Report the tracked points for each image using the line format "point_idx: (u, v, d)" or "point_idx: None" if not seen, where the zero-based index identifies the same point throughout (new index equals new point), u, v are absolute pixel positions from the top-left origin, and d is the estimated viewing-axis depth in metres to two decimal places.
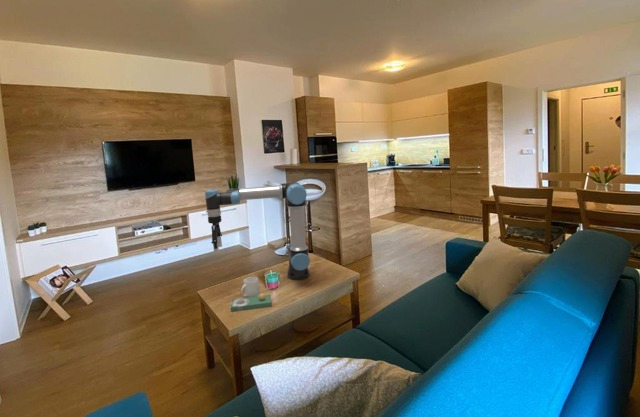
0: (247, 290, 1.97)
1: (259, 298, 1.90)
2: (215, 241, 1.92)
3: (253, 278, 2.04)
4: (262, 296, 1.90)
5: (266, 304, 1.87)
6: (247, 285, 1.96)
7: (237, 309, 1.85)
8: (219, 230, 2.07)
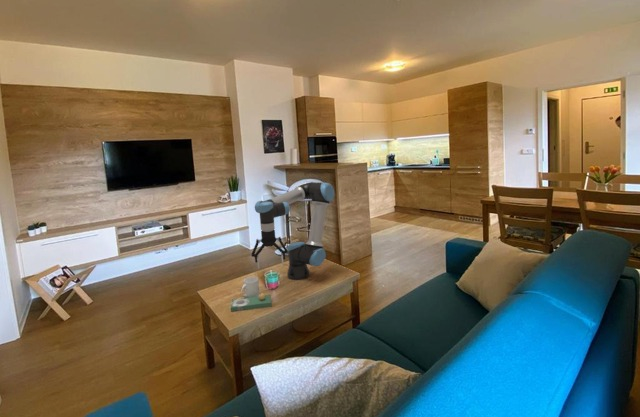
0: (247, 290, 1.97)
1: (259, 298, 1.90)
2: (251, 254, 1.86)
3: (253, 278, 2.04)
4: (262, 296, 1.90)
5: (266, 304, 1.87)
6: (247, 285, 1.96)
7: (237, 309, 1.85)
8: (279, 247, 1.88)
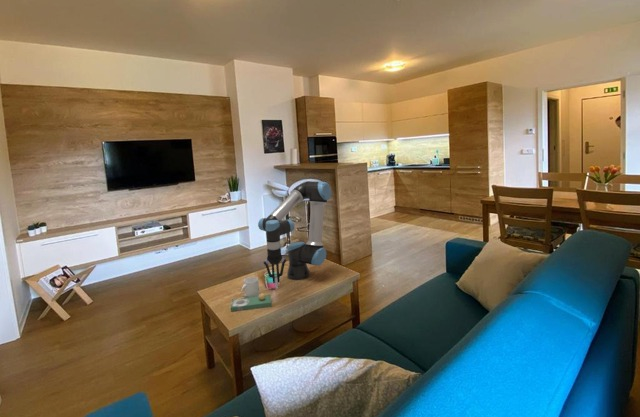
0: (247, 290, 1.97)
1: (259, 298, 1.90)
2: (269, 275, 1.89)
3: (253, 278, 2.04)
4: (262, 296, 1.90)
5: (266, 304, 1.87)
6: (247, 285, 1.96)
7: (237, 309, 1.85)
8: (278, 269, 1.89)
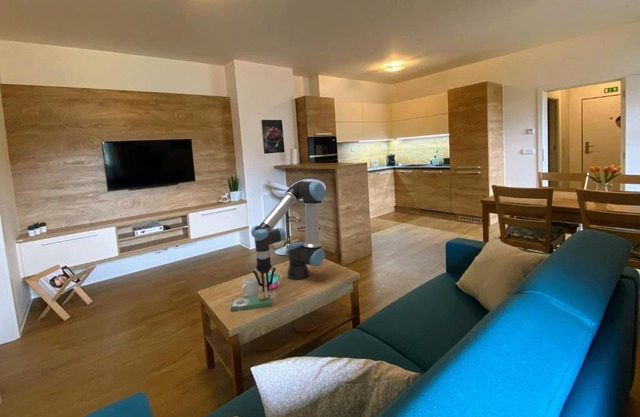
0: (247, 290, 1.97)
1: (259, 298, 1.90)
2: (259, 284, 1.89)
3: (253, 278, 2.04)
4: (262, 296, 1.90)
5: (266, 304, 1.87)
6: (247, 285, 1.96)
7: (237, 309, 1.85)
8: None
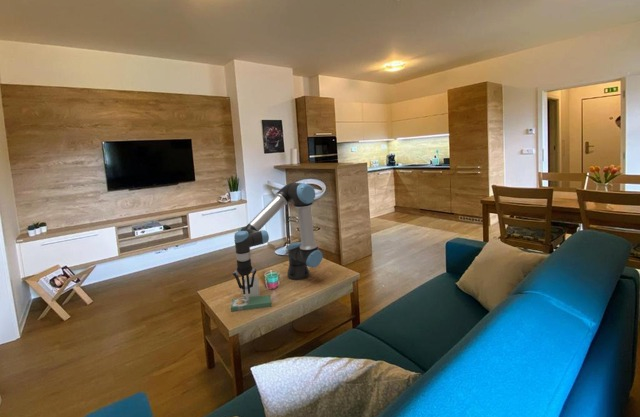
0: None
1: None
2: None
3: None
4: None
5: (266, 304, 1.87)
6: None
7: (237, 309, 1.85)
8: (248, 280, 1.87)
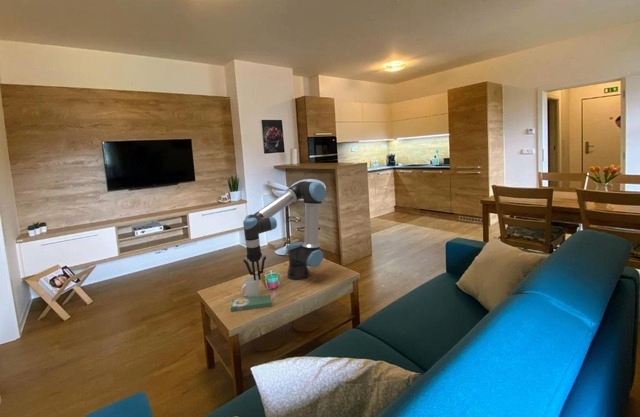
0: (247, 290, 1.97)
1: None
2: (250, 273, 1.89)
3: (253, 278, 2.04)
4: (240, 302, 1.88)
5: (266, 304, 1.87)
6: (247, 285, 1.96)
7: (237, 309, 1.85)
8: (258, 266, 1.88)
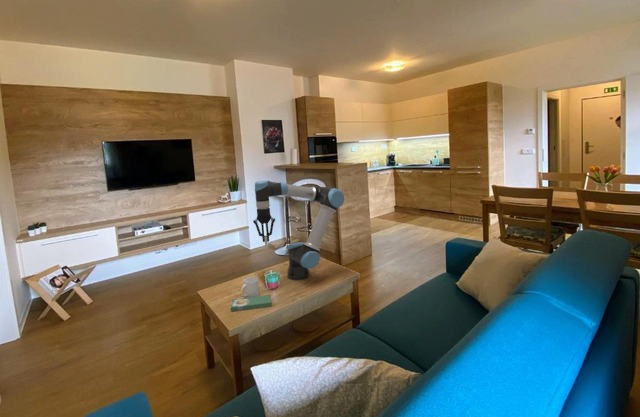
0: (247, 290, 1.97)
1: None
2: (259, 234, 1.97)
3: (253, 278, 2.04)
4: (240, 302, 1.88)
5: (266, 304, 1.87)
6: (247, 285, 1.96)
7: (237, 309, 1.85)
8: None
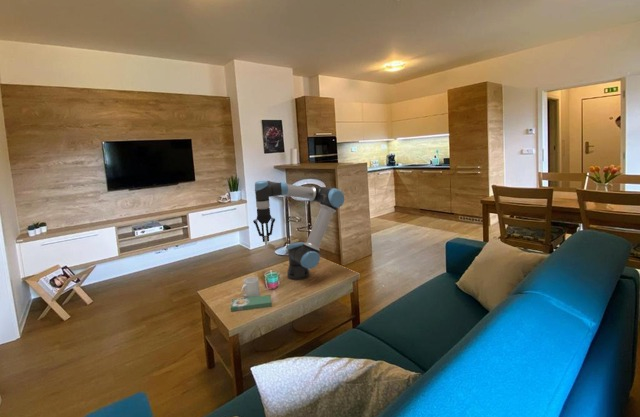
0: (247, 290, 1.97)
1: None
2: (259, 234, 1.97)
3: (253, 278, 2.04)
4: (240, 302, 1.88)
5: (266, 304, 1.87)
6: (247, 285, 1.96)
7: (237, 309, 1.85)
8: None
